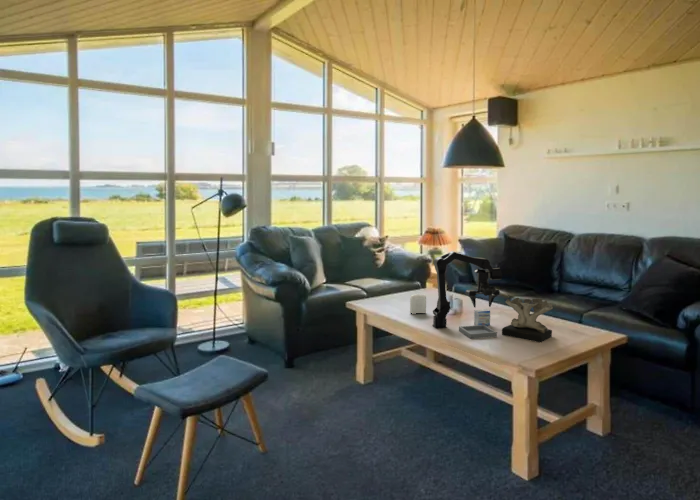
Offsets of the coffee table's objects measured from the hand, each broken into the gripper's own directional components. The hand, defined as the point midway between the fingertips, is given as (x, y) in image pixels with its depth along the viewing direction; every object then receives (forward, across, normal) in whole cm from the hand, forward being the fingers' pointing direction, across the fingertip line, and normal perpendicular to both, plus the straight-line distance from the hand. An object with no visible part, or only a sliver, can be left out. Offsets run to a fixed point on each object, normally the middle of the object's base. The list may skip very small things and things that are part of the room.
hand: (482, 307), depth 294 cm
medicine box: (+11, 0, 0) cm, 11 cm away
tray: (+10, -10, -16) cm, 21 cm away
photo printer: (+11, -27, +34) cm, 45 cm away
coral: (+11, +12, -28) cm, 32 cm away
